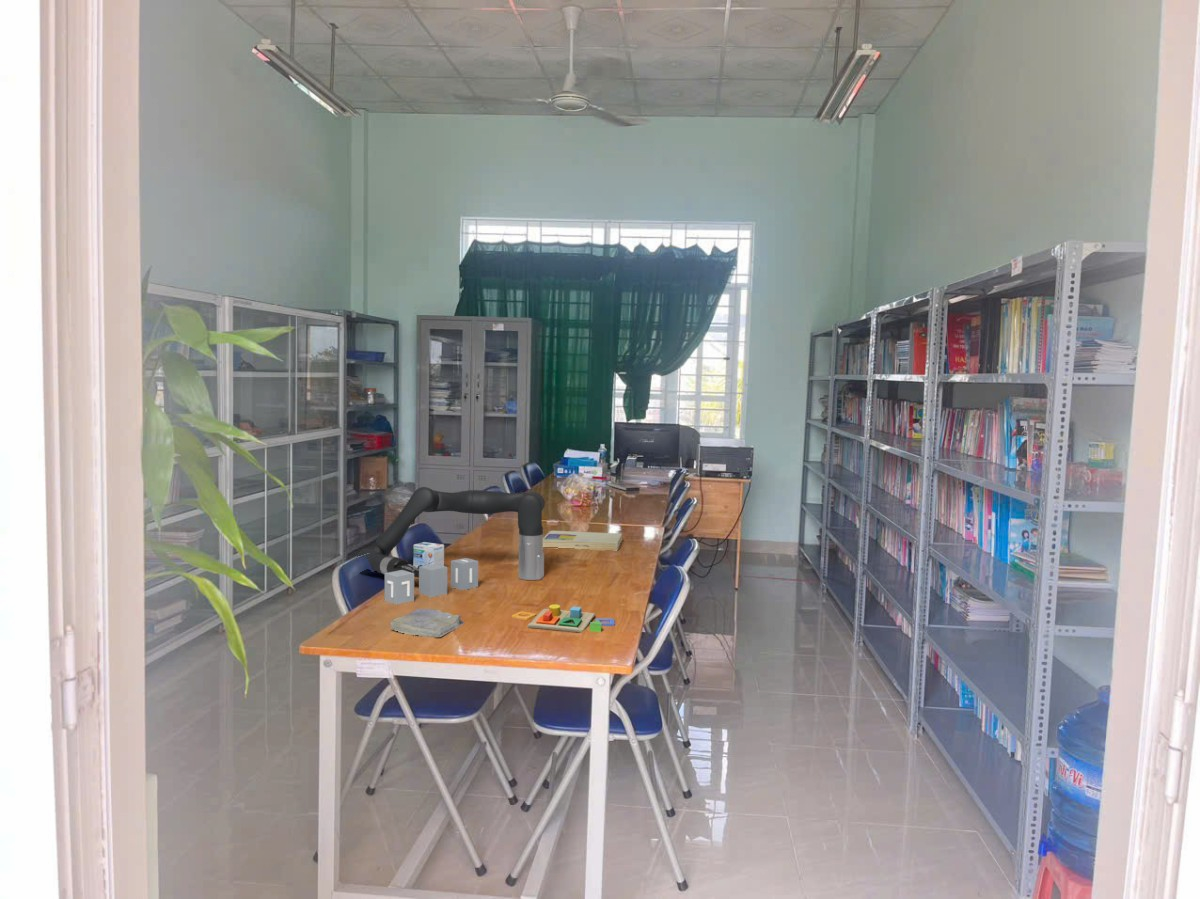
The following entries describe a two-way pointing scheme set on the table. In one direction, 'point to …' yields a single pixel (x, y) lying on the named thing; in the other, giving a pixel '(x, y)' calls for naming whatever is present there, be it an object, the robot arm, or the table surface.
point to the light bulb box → (428, 554)
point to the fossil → (427, 623)
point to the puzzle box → (583, 540)
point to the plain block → (433, 580)
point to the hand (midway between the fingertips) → (422, 575)
